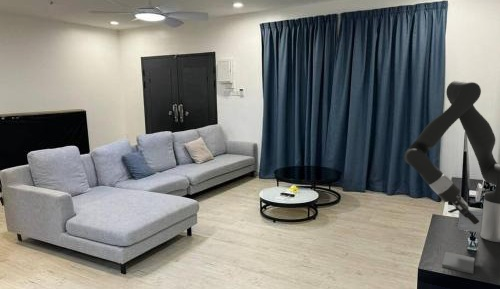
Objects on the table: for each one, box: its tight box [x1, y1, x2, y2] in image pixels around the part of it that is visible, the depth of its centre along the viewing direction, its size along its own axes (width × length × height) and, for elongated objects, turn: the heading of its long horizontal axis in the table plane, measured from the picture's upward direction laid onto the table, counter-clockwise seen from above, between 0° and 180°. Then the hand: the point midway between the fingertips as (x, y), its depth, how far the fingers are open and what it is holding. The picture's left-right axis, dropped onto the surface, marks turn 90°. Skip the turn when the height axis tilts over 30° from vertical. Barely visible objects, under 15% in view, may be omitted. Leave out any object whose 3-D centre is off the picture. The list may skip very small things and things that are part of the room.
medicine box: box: [457, 206, 484, 234], centre depth 143 cm, size 8×4×9 cm, turn 60°
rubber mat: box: [441, 251, 476, 275], centre depth 138 cm, size 12×10×1 cm
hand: (476, 220), depth 142 cm, fingers closed on medicine box, 4 cm apart
